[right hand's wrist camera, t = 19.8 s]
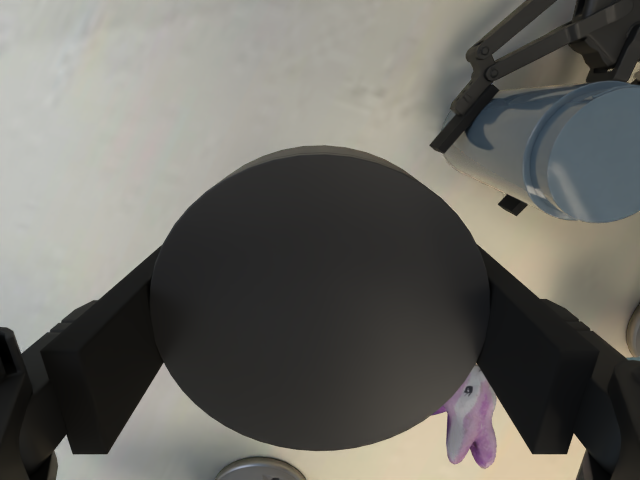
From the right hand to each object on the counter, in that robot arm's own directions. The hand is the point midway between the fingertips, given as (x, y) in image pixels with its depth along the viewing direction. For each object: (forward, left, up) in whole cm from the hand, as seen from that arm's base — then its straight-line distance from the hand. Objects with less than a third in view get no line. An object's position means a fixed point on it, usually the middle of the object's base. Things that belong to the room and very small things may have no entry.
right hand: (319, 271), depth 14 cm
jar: (-3, -17, -28) cm, 33 cm away
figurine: (-28, -5, -28) cm, 40 cm away
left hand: (-5, -13, -22) cm, 26 cm away
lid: (0, 0, +3) cm, 3 cm away
